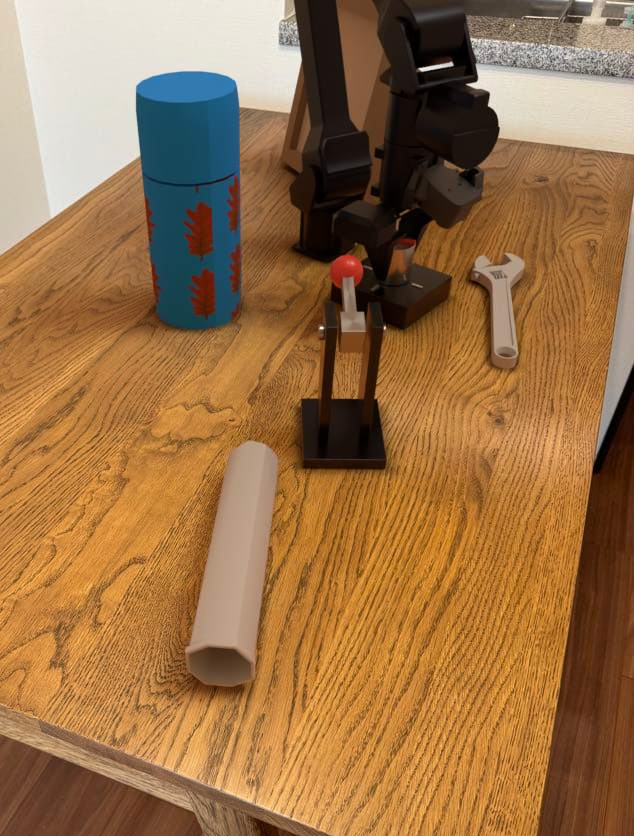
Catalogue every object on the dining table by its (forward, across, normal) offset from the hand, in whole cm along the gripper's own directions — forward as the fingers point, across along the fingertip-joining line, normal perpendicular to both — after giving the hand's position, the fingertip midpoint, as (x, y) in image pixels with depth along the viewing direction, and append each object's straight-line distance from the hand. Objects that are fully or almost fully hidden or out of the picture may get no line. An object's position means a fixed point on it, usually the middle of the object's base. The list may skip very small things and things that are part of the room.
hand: (392, 273), depth 96 cm
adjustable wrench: (+4, +6, -11) cm, 13 cm away
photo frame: (+4, +27, +27) cm, 38 cm away
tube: (+4, -46, -17) cm, 49 cm away
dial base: (+4, 0, 0) cm, 4 cm away
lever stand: (+4, -26, -13) cm, 29 cm away
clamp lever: (-8, -22, -10) cm, 25 cm away
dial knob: (0, 0, 0) cm, 0 cm away
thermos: (+4, -18, +16) cm, 24 cm away
